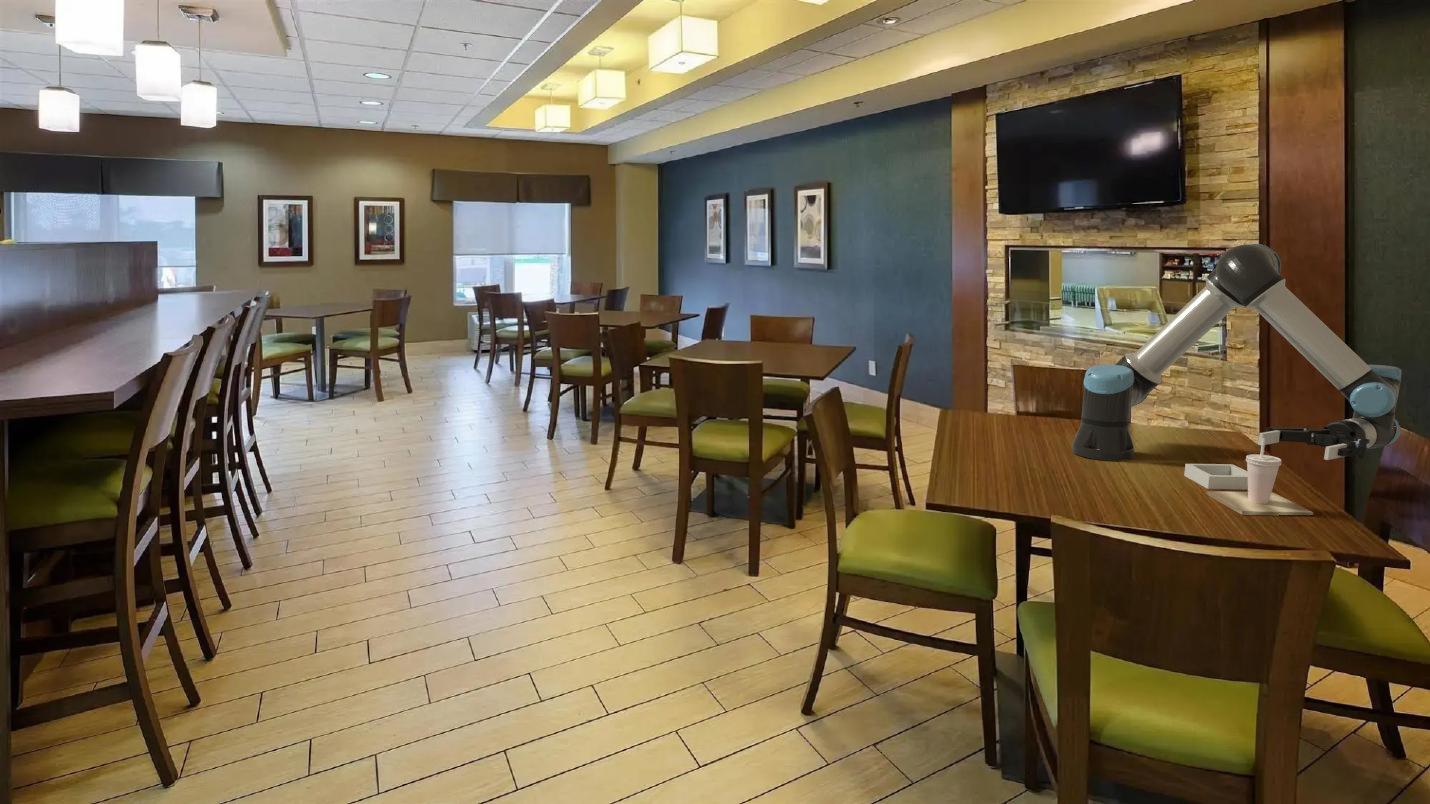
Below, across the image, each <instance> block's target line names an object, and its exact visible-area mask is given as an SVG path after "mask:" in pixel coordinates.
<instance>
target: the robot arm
mask: <svg viewBox="0 0 1430 804" xmlns="http://www.w3.org/2000/svg"><path fill="white" fill-rule="evenodd" d="M1281 271H1282V264H1281V259H1280V257H1279V256H1278V254H1277V252H1276V251H1274V249H1272V248H1270V247H1268V246H1267V245H1264V244H1260V243H1249V244H1247V243H1246V244H1240V245H1235V246H1234V247H1231V248H1229V249H1228V250H1226V251H1225V252H1224V253H1223V254H1222V255H1220V258H1219V259H1218V261H1217V264H1216V267H1215V268H1214V269H1213V270H1212V271H1211V272H1210V273H1209V274H1207V276H1206V277H1205V286H1204V287H1203V288H1202V289H1201V290H1200V291H1199V292H1198V293H1197V294H1195V296H1193V298H1192V299H1191V300H1190V301H1188V302H1187V303H1186V304H1185V305H1184V306H1183V307H1182V308H1181V309H1180V310H1179V311H1178V312H1177V313H1176V314H1175V315H1174V316H1172V317H1171V319H1170V320H1168V321H1167V322H1166V323H1165V324H1164V325H1162V327H1161V328H1160V329H1159V330H1158V331H1156V333H1155V334H1153V336H1152V337H1151V338H1150V339H1148V340H1147V342H1145V343H1144V344H1143V345H1142V346H1140V348H1139V349H1138V350H1137V351H1136V352H1127V353H1125V354H1124V355H1123V356H1122V357H1121V358H1120V359H1119V360H1118V361H1116V363H1115V364H1101V365H1094V366H1091V367H1089V368H1088V369H1087V370H1086V371H1085V374H1084V378H1083V394H1082V405H1081V406H1082V407H1081V420H1080V425H1079V428H1078V430H1077V432H1076V434H1075V436H1074V439H1073V441H1072V444H1071V452H1072V453H1073V454H1074V455H1076V456H1080V457H1083V458H1086V459H1087V458H1088V459H1093V460H1100V461H1116V462H1117V461H1128V460H1130V459H1131V460H1132V459H1133V458H1134V456H1135V447H1134V446H1135V445H1134V443H1133V442H1134V441H1133V438H1132V435H1131V434H1132V433H1131V431H1130V419H1131V408H1132V407H1135V406H1137V405H1139V404H1142V402H1144V401H1145V400H1146V399H1147V398H1148V396H1149V395H1150V393H1151V392H1152V391H1153V390H1154V389H1155V388H1157V387H1158V386H1159V385H1160V384H1161V383H1162V374H1163V373H1164V372H1166V371H1167V370H1168V369H1169V368H1170V367H1171V366H1172V365H1173V364H1174V363H1175V362H1177V360H1179V359H1180V358H1181V357H1182V356H1183V355H1184V354H1185V353H1186V352H1187V351H1188V350H1190V349H1191V347H1193V346H1194V345H1195V344H1196V343H1197V342H1198V341H1200V339H1202V337H1204V336H1205V335H1206V334H1207V333H1209V331H1210V330H1211V329H1212V328H1214V327H1215V326H1216V325H1218V324H1219V322H1220V321H1221V320H1222V319H1224V318H1225V317H1226V316H1227V315H1228V314H1229V313H1230V312H1232V311H1233V310H1234V309H1237V308H1247V309H1254V310H1256V312H1258V313H1259V314H1260V316H1262V317H1263V318H1264V319H1265V320H1266V322H1268V323H1269V324H1270V325H1271V326H1272V327H1273V328H1274V329H1275V330H1276V331H1277V332H1278V333H1279V334H1280V335H1281V336H1282V337H1283V338H1285V340H1286V341H1287V342H1288V343H1289V344H1290V345H1292V346H1293V347H1294V348H1295V349H1296V350H1297V351H1298V353H1300V354H1301V355H1302V356H1303V358H1305V359H1306V360H1307V361H1308V362H1309V363H1310V364H1311V365H1312V366H1313V367H1314V368H1315V369H1317V371H1318V372H1319V373H1320V374H1322V376H1323V377H1325V379H1326V380H1328V381H1329V383H1331V384H1332V385H1333V386H1334V387H1335V389H1337V390H1338V391H1339V393H1341V395H1343V397H1344V398H1346V400H1348V402H1349V404H1350V405H1351V408H1352V409H1353V414H1352V418H1348V419H1347V418H1346V419H1343V420H1335V421H1332V422H1329V423H1328V424H1325V426H1324V427H1323V428H1320V429H1319V428H1318V429H1311V428H1309V427H1307V426H1303V427H1302V426H1301V427H1266V429H1265V431H1264V432H1259V433H1258V442H1257V445H1258V446H1261V445H1262V438H1265V446H1267V445H1271V444H1273V445H1276V444H1278V443H1279V442H1288V443H1304V444H1305V445H1307V446H1319V447H1322V448H1325V450H1324V457H1323V460H1325V461H1330V460H1335V459H1339V458H1345V457H1349V458H1354V456H1357V458H1358V459H1360V460H1364V459H1365V458H1366V454H1367V452H1368V451H1369V449H1379V448H1380V449H1381V448H1383V447H1385V446H1389V445H1391V444H1393V443H1394V442H1396V441H1397V440H1398V438H1400V435H1401V432H1399V431H1401V426H1400V424H1399V422H1398V420H1397V419H1395V417H1396V408H1397V403H1398V398H1399V393H1400V388H1401V387H1400V386H1401V383H1402V380H1401V379H1402V372H1403V371H1402V369H1401V368H1399V367H1397V366H1394V365H1393V366H1392V365H1386V364H1385V365H1383V364H1367V363H1366V362H1365V361H1364V360H1363V359H1362V358H1361V357H1360V356H1359V355H1358V354H1356V353H1355V352H1354V351H1353V350H1352V349H1351V347H1350V346H1348V345H1347V344H1346V343H1345V342H1344V341H1343V340H1342V339H1341V338H1340V337H1339V336H1338V335H1337V334H1336V333H1334V331H1333V330H1332V329H1331V328H1329V326H1327V325H1326V324H1325V323H1324V322H1323V321H1322V320H1321V319H1320V318H1319V317H1318V316H1316V314H1315V313H1314V312H1313V311H1312V310H1310V309H1309V308H1308V306H1307V305H1305V304H1304V303H1303V302H1302V301H1301V300H1300V299H1299V298H1298V297H1297V296H1296V295H1295V294H1294V293H1292V291H1290V290H1289V289H1288V288H1287V286H1286V282H1287V281H1286V278H1284V277H1283V275H1281ZM1394 426H1396V427H1394ZM1397 427H1398V428H1400V429H1398V428H1397ZM1392 428H1393V429H1392Z"/></svg>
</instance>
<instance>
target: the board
mask: <svg viewBox="0 0 1430 804" xmlns="http://www.w3.org/2000/svg"><path fill="white" fill-rule="evenodd" d="M1206 495H1207V496H1209V497H1211V498H1212V499H1214V500H1215V501H1217V502H1219V503H1220V504H1222V505H1224V506H1225V507H1227V508H1229V509H1231V510H1233V511H1235V512H1236V513H1238V514H1240V515H1242V516H1279V515H1313V516H1314V512H1313V511H1311V510H1309V509H1307V508H1305V507H1303V506H1301V505H1299V504H1297V503H1295V502H1293V501H1292V500H1289V499H1287V498H1285V497H1283V496H1281V495H1279V494H1277V493H1275V492H1273V491H1272V493H1271V496H1270V500H1269V503H1268V504H1258V503H1253V502H1250V501H1248V491H1222V490H1220V491H1218V490H1217V491H1216V490H1214V491H1213V490H1211V491H1210V490H1209V491H1208V490H1207V492H1206Z"/></svg>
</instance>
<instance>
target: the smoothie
mask: <svg viewBox="0 0 1430 804" xmlns="http://www.w3.org/2000/svg"><path fill="white" fill-rule="evenodd" d="M1265 446H1266V445H1265V438H1262V445H1260V454H1257V453H1254V454H1247V455H1246V457H1245V462H1246V463H1247V464H1246V469H1247V470H1246V471H1247V472H1248V490H1247V492H1248V501H1250V502H1253V503H1258V504H1268V503H1269V500H1270V496H1271V493H1272V492H1273V488H1274V486H1275V481H1276V479H1277V475H1278V473H1279V468H1280V466H1282V459H1281V458H1279V457H1276V456H1273V455H1268V454H1264V453H1265Z"/></svg>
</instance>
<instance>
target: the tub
mask: <svg viewBox="0 0 1430 804" xmlns="http://www.w3.org/2000/svg"><path fill="white" fill-rule="evenodd" d="M1183 476H1184V477H1186V478H1187V479H1189V480H1191V481H1193V482H1194V483H1196V484H1197V485H1200V486H1202V487H1203V488H1205V489H1208V490H1243V491H1244V490H1245V491H1246V490H1247V491H1248V472H1247V470H1245V469H1243V468H1241V467H1239V466H1237V465H1235V464H1233V463H1230V464H1229V463H1227V464H1225V463H1224V464H1223V463H1221V464H1220V463H1219V464H1218V463H1217V464H1216V463H1185V467H1184V474H1183Z"/></svg>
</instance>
